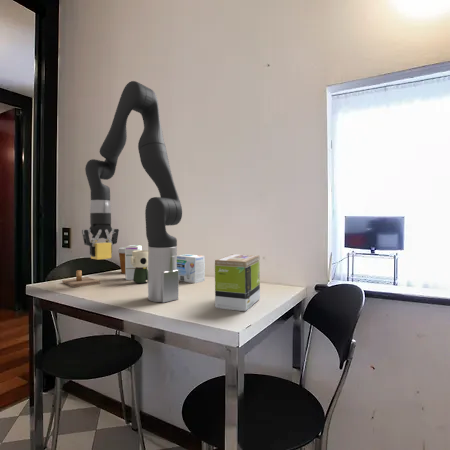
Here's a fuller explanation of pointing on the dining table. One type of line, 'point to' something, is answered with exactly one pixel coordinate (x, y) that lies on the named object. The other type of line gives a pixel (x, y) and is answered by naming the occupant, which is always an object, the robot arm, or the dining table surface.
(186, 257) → the light bulb box
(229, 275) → the tea box
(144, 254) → the character mug
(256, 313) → the dining table surface
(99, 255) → the yellow cube
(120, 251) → the disposable coffee cup
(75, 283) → the post block
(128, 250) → the syrup box
